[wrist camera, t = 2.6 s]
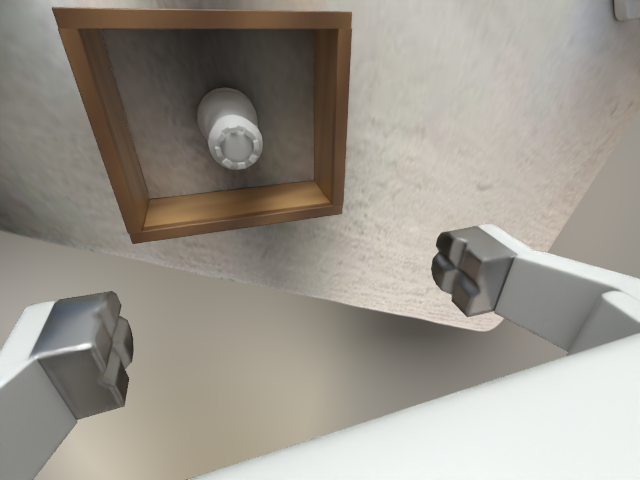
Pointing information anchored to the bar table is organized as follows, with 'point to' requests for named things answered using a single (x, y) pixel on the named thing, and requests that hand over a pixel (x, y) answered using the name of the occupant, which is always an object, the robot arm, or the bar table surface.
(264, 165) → the bar table surface
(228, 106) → the rook chess piece
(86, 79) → the open wooden box
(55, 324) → the robot arm
